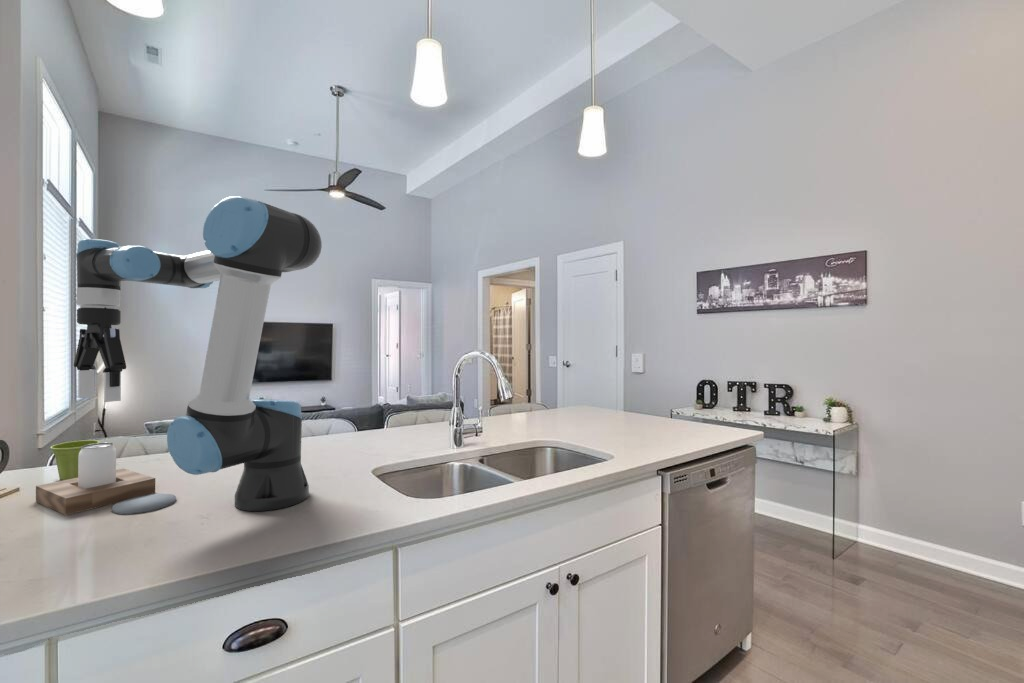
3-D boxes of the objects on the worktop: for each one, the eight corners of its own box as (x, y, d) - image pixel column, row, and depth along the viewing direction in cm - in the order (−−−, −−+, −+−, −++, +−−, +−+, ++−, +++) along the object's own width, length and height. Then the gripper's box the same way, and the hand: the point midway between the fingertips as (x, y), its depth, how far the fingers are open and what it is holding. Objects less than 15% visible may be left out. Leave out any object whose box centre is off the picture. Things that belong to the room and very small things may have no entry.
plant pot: (75, 482, 116) (76, 448, 116) (39, 482, 116) (39, 447, 116) (109, 472, 125) (109, 440, 125) (75, 471, 125) (75, 439, 125)
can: (93, 503, 102) (93, 449, 102) (70, 500, 103) (70, 447, 103) (123, 493, 108) (123, 442, 108) (101, 491, 109) (101, 441, 109)
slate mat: (186, 501, 103) (186, 498, 103) (126, 518, 94) (127, 515, 94) (160, 493, 109) (160, 490, 109) (102, 508, 99) (102, 505, 99)
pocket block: (155, 492, 109) (155, 478, 109) (65, 515, 95) (65, 498, 95) (123, 482, 116) (123, 468, 116) (35, 501, 102) (35, 485, 102)
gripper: (145, 307, 103) (144, 401, 103) (96, 310, 115) (95, 394, 115) (103, 304, 97) (102, 405, 97) (55, 308, 109) (55, 397, 109)
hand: (99, 399), depth 106 cm, fingers open, 13 cm apart
